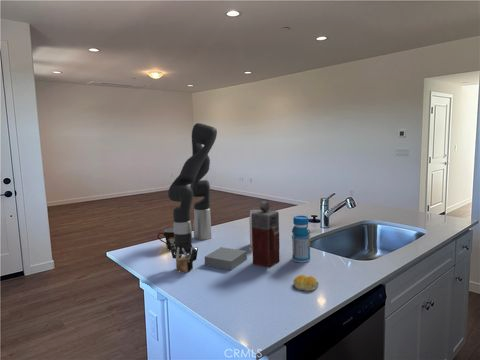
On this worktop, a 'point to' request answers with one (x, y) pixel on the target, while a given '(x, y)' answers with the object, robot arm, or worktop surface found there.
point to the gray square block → (226, 258)
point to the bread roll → (305, 283)
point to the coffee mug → (168, 237)
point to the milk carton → (251, 225)
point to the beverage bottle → (301, 239)
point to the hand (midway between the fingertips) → (184, 268)
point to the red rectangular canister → (265, 236)
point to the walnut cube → (182, 264)
